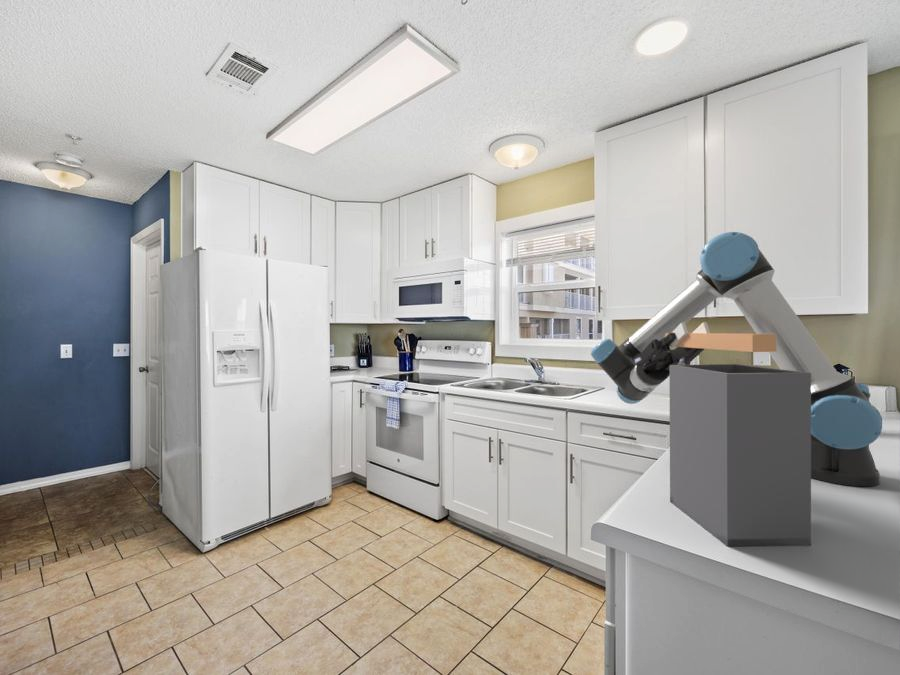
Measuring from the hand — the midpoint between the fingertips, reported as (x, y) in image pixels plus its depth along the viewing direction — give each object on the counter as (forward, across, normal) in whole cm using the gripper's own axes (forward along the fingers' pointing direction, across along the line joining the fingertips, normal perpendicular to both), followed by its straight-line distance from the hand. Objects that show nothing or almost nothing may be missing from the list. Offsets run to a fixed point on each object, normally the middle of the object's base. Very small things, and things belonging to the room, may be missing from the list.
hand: (695, 327), depth 88 cm
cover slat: (+3, 0, -6) cm, 7 cm away
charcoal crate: (-9, 0, -37) cm, 38 cm away
